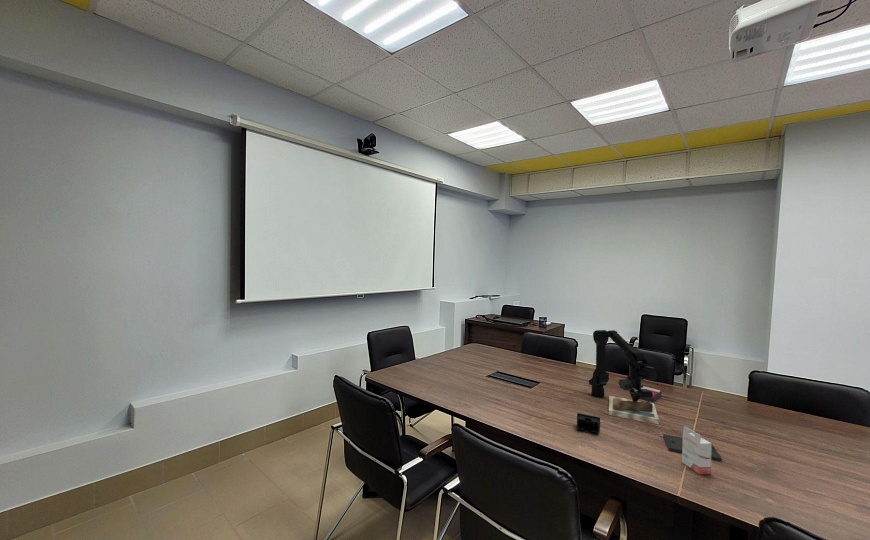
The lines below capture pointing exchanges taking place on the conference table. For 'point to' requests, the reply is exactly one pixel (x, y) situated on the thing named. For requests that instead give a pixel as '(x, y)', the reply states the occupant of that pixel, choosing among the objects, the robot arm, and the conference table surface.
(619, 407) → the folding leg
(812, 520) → the conference table surface
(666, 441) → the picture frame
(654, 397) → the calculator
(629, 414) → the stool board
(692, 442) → the ink cartridge box
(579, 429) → the end cap
